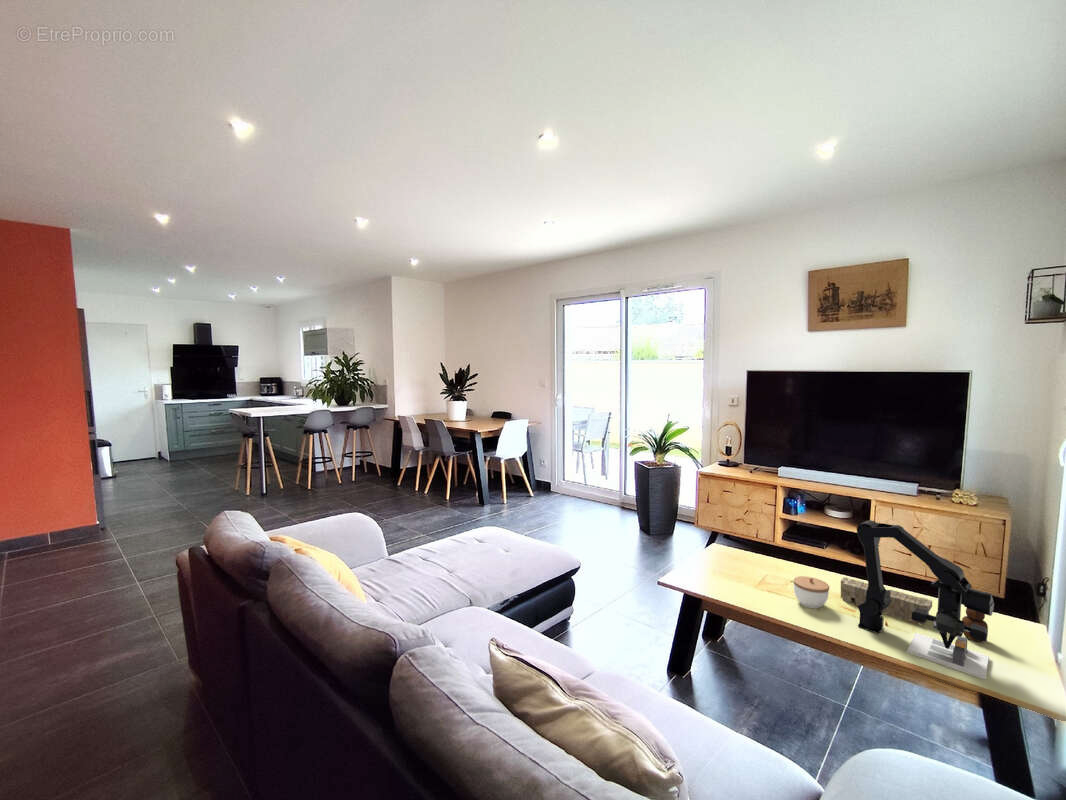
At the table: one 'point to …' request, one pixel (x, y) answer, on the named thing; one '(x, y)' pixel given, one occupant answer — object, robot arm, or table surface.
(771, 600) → the table surface
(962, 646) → the block
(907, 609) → the block tower
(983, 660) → the panel
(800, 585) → the lidded bowl
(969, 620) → the wooden figurine
